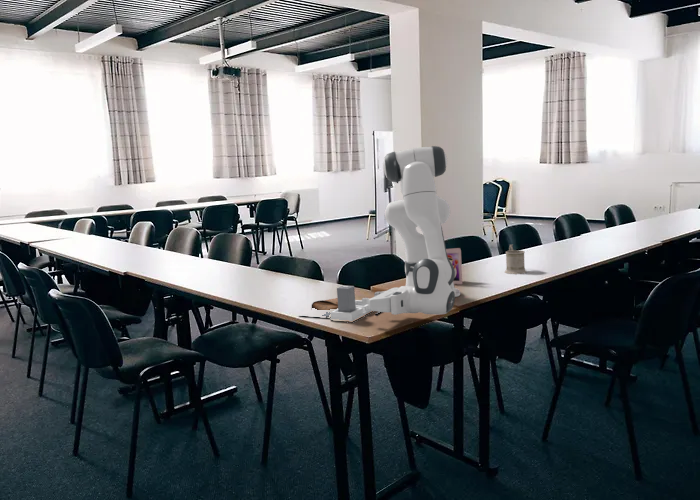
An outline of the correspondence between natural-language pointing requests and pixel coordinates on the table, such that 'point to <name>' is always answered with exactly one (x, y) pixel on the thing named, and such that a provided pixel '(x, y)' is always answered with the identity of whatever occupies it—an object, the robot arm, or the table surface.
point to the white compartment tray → (360, 311)
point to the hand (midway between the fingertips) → (369, 297)
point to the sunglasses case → (326, 304)
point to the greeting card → (456, 263)
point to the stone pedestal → (515, 261)
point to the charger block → (346, 299)
